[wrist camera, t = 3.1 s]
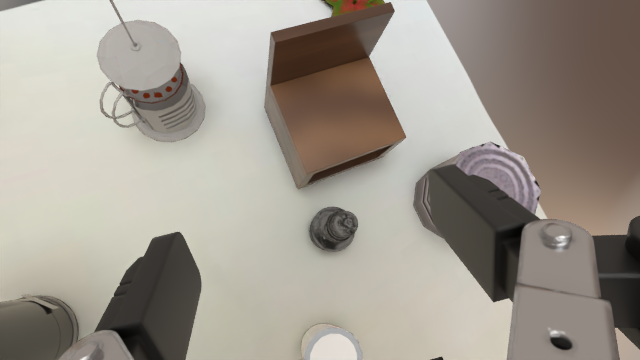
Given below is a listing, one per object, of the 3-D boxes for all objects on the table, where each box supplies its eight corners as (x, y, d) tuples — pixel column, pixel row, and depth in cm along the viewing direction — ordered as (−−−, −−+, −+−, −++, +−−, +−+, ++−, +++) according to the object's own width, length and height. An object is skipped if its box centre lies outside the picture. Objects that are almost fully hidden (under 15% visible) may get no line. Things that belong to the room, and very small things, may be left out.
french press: (220, 105, 52) (193, -30, 28) (163, 166, 48) (77, 71, 25) (165, 64, 52) (92, -108, 28) (105, 121, 48) (-39, -17, 24)
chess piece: (341, 206, 52) (367, 190, 40) (352, 246, 51) (382, 241, 39) (302, 215, 50) (318, 201, 39) (313, 257, 49) (332, 255, 38)
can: (433, 252, 53) (484, 248, 41) (399, 182, 54) (439, 160, 43) (493, 221, 56) (556, 210, 44) (459, 155, 57) (511, 128, 46)
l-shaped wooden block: (382, 157, 55) (442, 108, 38) (297, 189, 51) (321, 151, 34) (348, 81, 57) (390, 1, 39) (264, 107, 53) (270, 32, 36)
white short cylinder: (293, 322, 47) (300, 332, 40) (343, 314, 48) (358, 322, 42) (299, 379, 46) (307, 399, 39) (350, 369, 47) (367, 387, 40)
